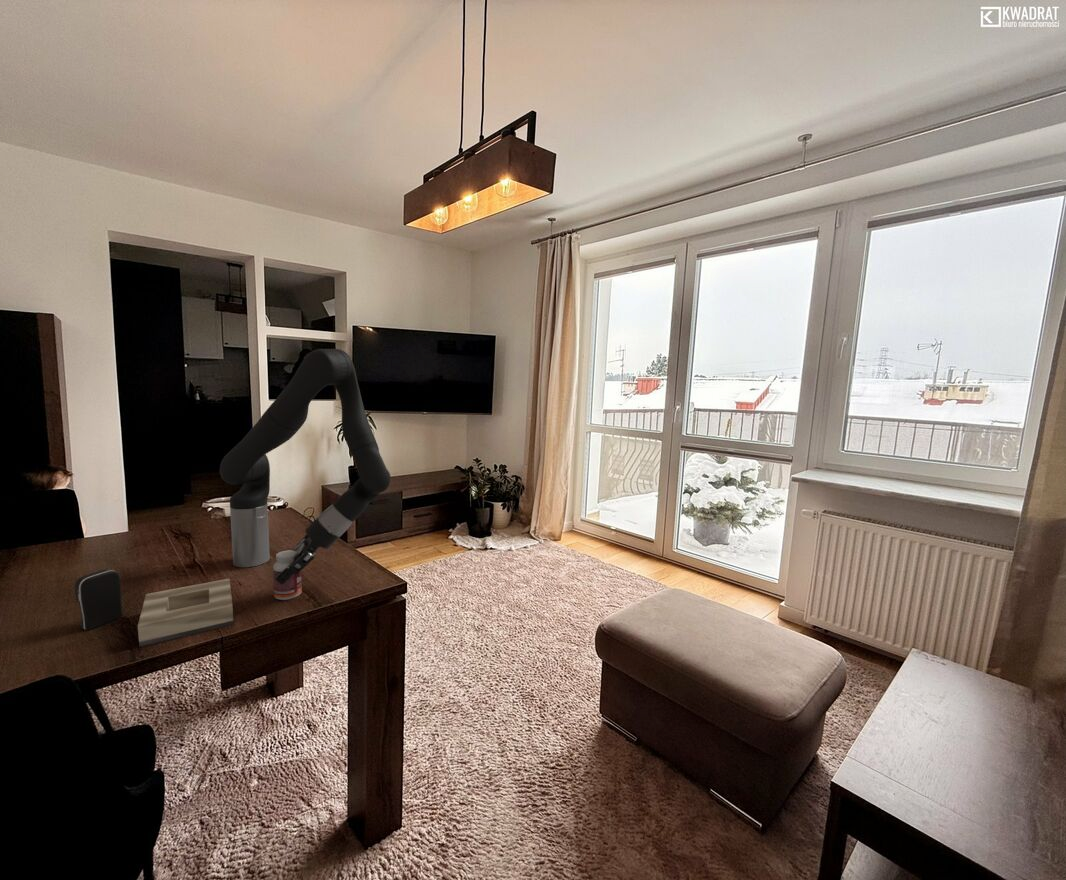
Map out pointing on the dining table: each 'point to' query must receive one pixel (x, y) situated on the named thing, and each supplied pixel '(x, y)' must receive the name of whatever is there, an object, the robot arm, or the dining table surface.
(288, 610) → the dining table surface
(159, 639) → the socket block
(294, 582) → the pill bottle
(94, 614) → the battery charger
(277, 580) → the robot arm
